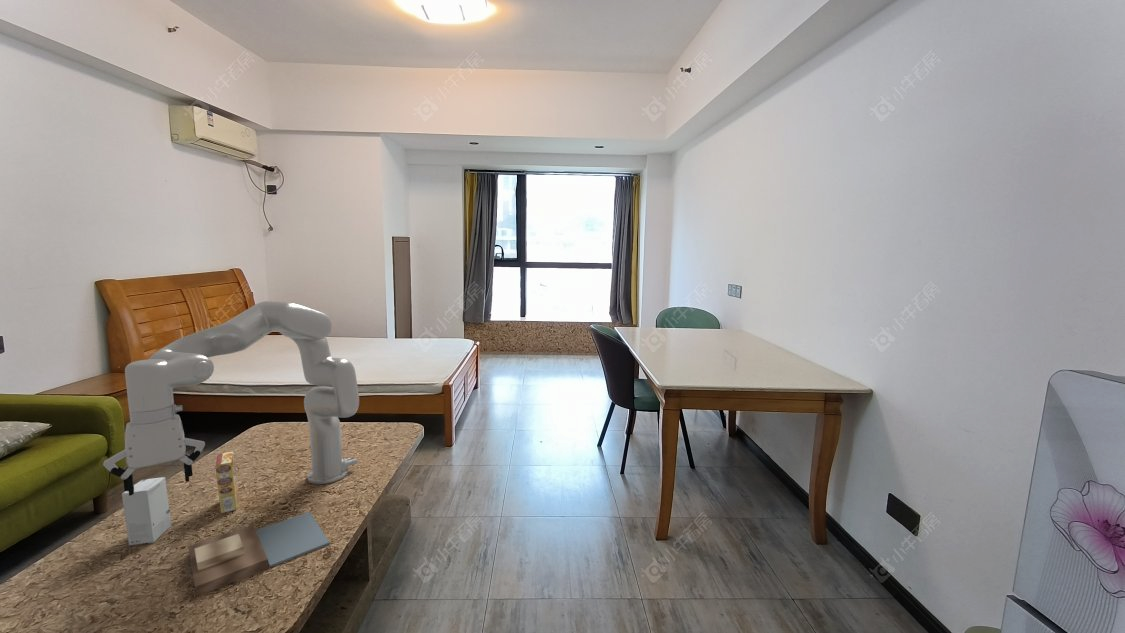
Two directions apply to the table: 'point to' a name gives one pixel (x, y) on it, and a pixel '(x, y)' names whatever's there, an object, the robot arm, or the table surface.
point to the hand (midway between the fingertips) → (160, 486)
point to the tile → (218, 551)
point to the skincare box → (147, 511)
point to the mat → (291, 538)
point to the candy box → (226, 482)
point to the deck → (229, 562)
